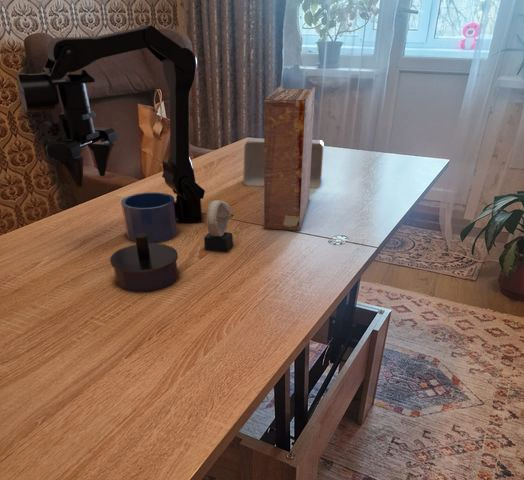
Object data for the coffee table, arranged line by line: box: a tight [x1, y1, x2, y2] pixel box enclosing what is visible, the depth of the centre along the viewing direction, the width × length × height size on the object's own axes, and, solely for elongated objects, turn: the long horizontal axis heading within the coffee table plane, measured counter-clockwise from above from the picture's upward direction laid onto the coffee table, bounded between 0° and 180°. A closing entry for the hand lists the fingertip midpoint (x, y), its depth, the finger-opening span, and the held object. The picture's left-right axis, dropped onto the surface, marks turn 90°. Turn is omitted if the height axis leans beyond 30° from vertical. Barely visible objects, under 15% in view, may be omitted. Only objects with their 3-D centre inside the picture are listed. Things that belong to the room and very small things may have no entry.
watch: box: [203, 199, 234, 253], centre depth 112 cm, size 6×8×11 cm
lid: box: [109, 233, 179, 273], centre depth 98 cm, size 14×14×6 cm
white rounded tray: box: [242, 137, 325, 189], centre depth 157 cm, size 25×16×12 cm, turn 83°
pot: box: [120, 191, 179, 244], centre depth 120 cm, size 13×13×8 cm
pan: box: [113, 260, 178, 293], centre depth 101 cm, size 13×13×4 cm
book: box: [263, 85, 316, 232], centre depth 125 cm, size 25×9×30 cm, turn 170°
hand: (91, 181), depth 112 cm, fingers open, 9 cm apart
